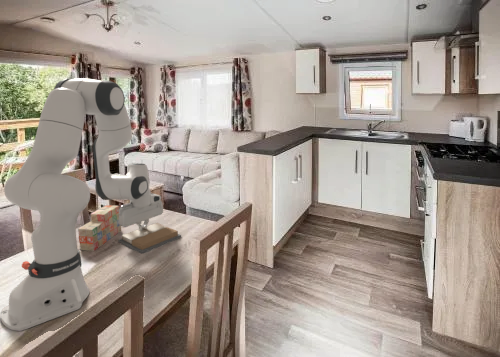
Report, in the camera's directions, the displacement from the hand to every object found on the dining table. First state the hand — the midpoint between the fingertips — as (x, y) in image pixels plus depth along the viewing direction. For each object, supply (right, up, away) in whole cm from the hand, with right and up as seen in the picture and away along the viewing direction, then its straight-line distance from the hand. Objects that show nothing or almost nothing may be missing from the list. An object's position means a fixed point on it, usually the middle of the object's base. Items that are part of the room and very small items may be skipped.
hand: (143, 229), depth 144 cm
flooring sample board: (+4, -4, -3) cm, 6 cm away
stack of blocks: (-17, -4, -2) cm, 18 cm away
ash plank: (+1, -2, -1) cm, 3 cm away
